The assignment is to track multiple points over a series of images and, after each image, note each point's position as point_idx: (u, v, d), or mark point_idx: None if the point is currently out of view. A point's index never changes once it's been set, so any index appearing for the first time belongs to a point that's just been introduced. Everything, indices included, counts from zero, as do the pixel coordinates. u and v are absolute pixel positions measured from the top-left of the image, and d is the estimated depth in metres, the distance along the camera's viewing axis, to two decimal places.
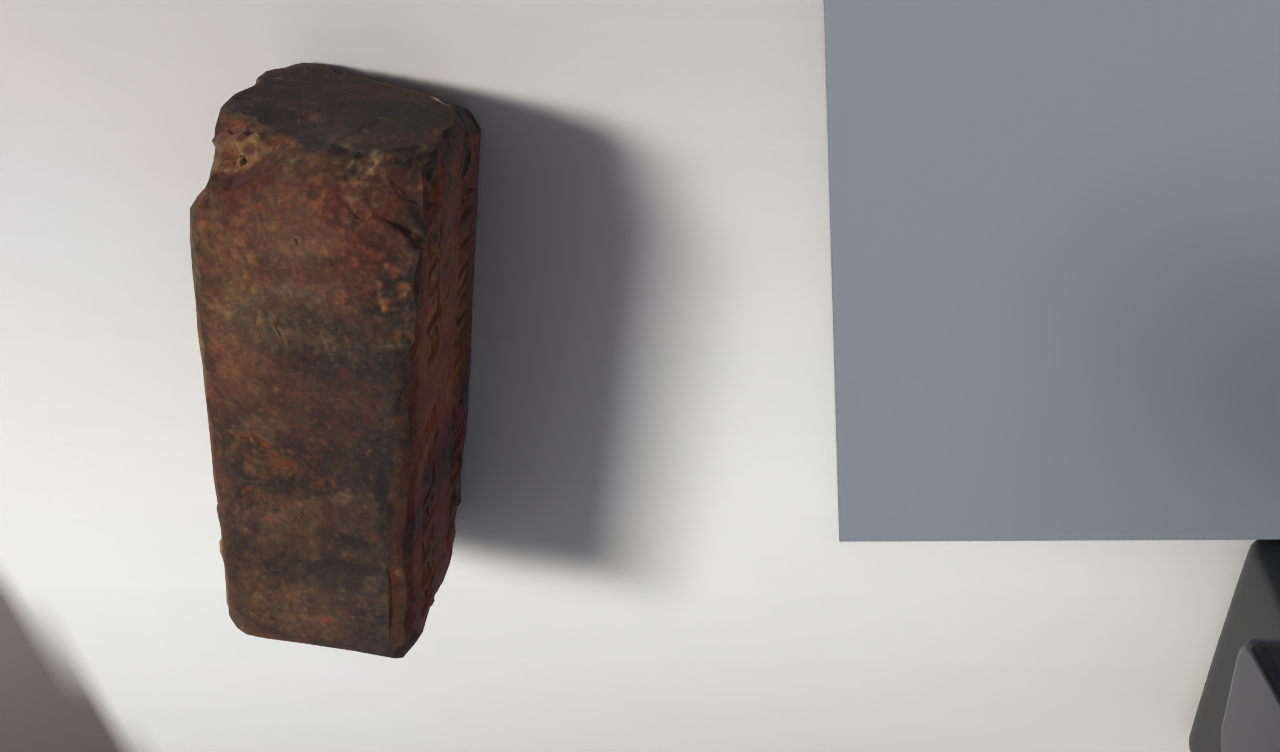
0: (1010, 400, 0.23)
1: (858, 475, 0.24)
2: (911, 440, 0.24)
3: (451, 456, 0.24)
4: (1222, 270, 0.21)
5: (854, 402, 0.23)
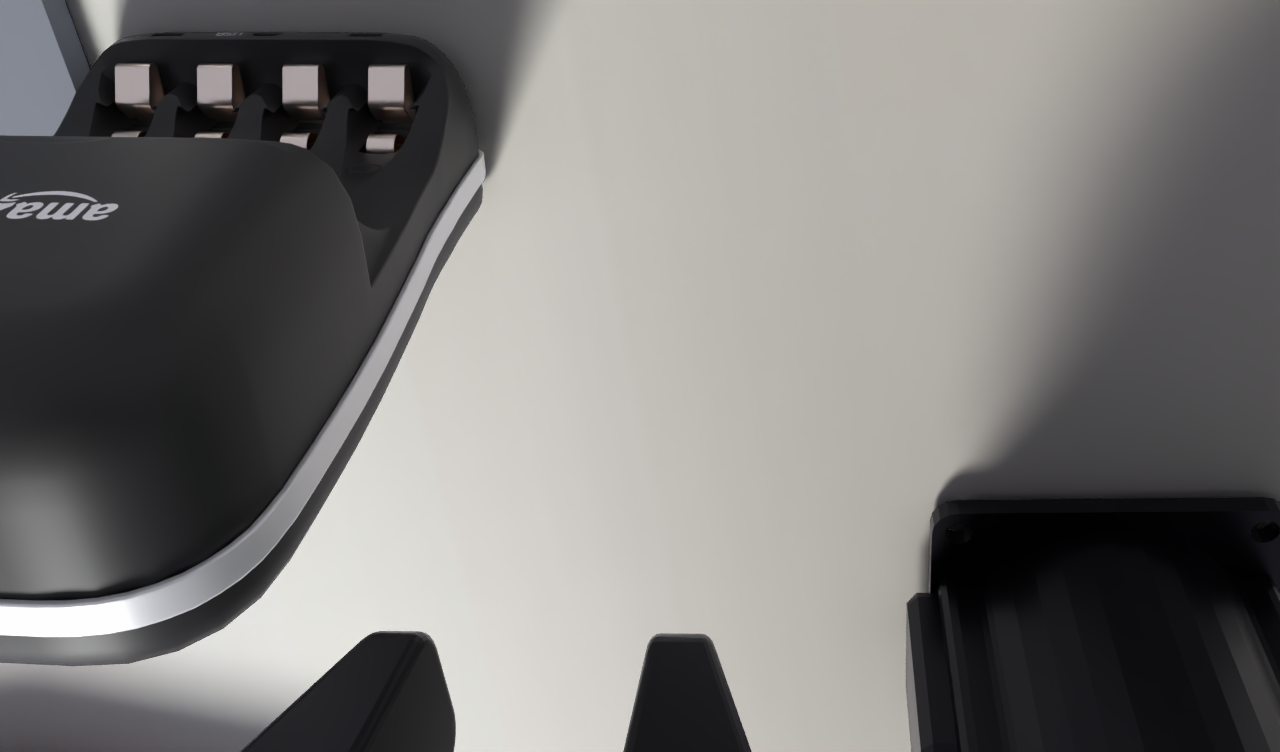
0: None
1: None
2: None
3: None
4: None
5: None
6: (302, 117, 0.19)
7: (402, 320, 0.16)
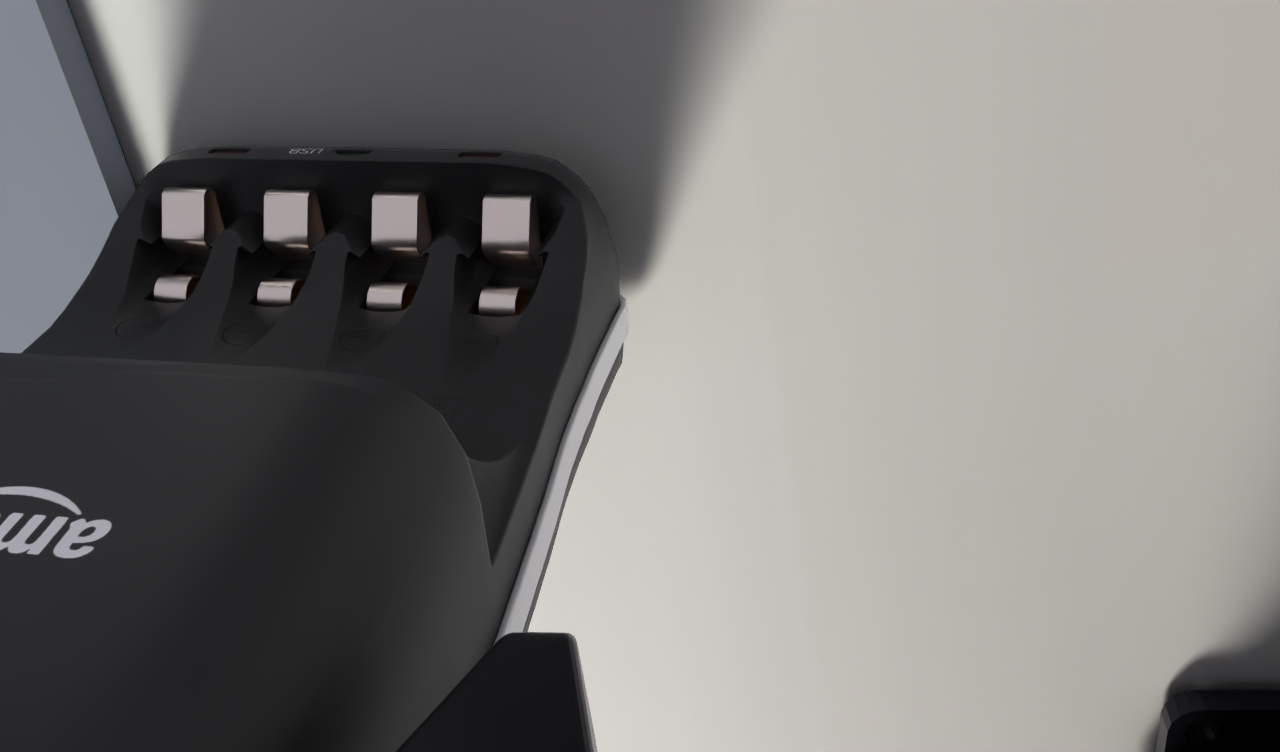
0: None
1: None
2: None
3: None
4: None
5: None
6: (396, 259, 0.15)
7: (531, 587, 0.11)
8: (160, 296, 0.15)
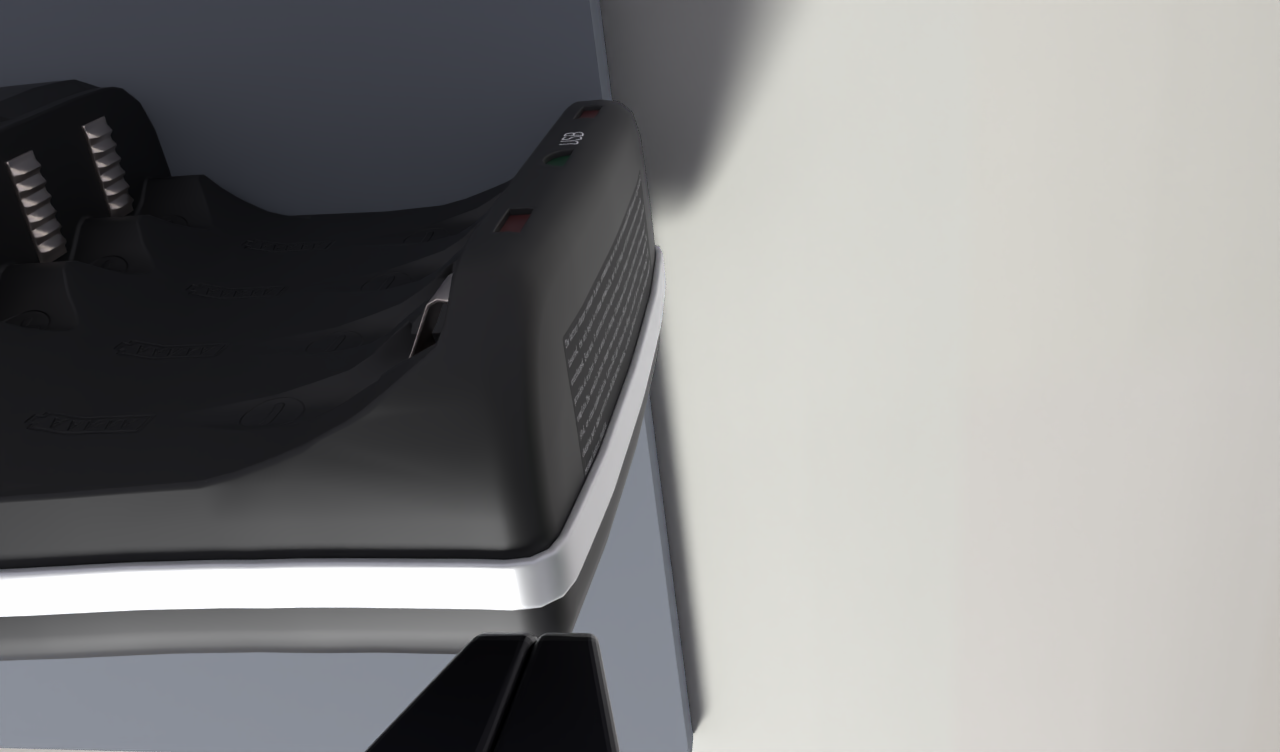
0: None
1: None
2: None
3: None
4: None
5: None
6: None
7: None
8: None
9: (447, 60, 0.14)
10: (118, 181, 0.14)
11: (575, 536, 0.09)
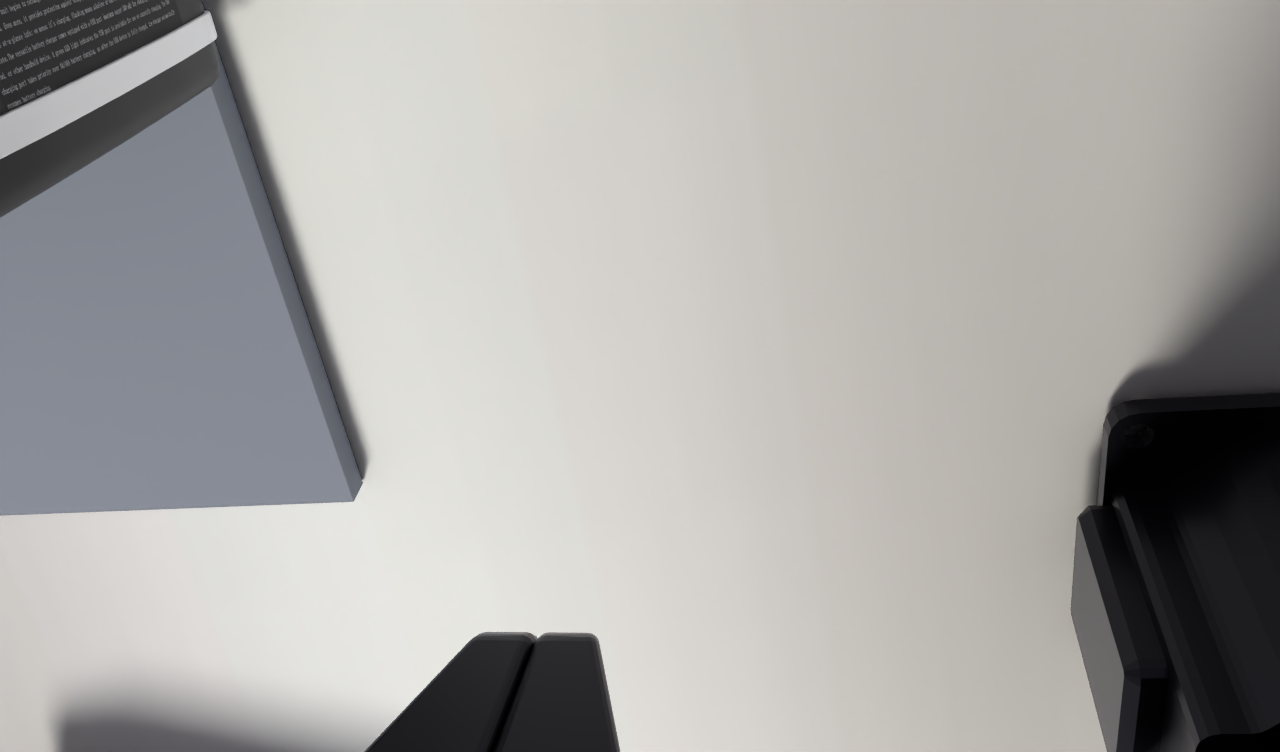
0: (130, 370, 0.22)
1: (264, 488, 0.24)
2: (207, 447, 0.23)
3: None
4: None
5: (182, 493, 0.24)
6: None
7: None
8: None
9: None
10: None
11: None
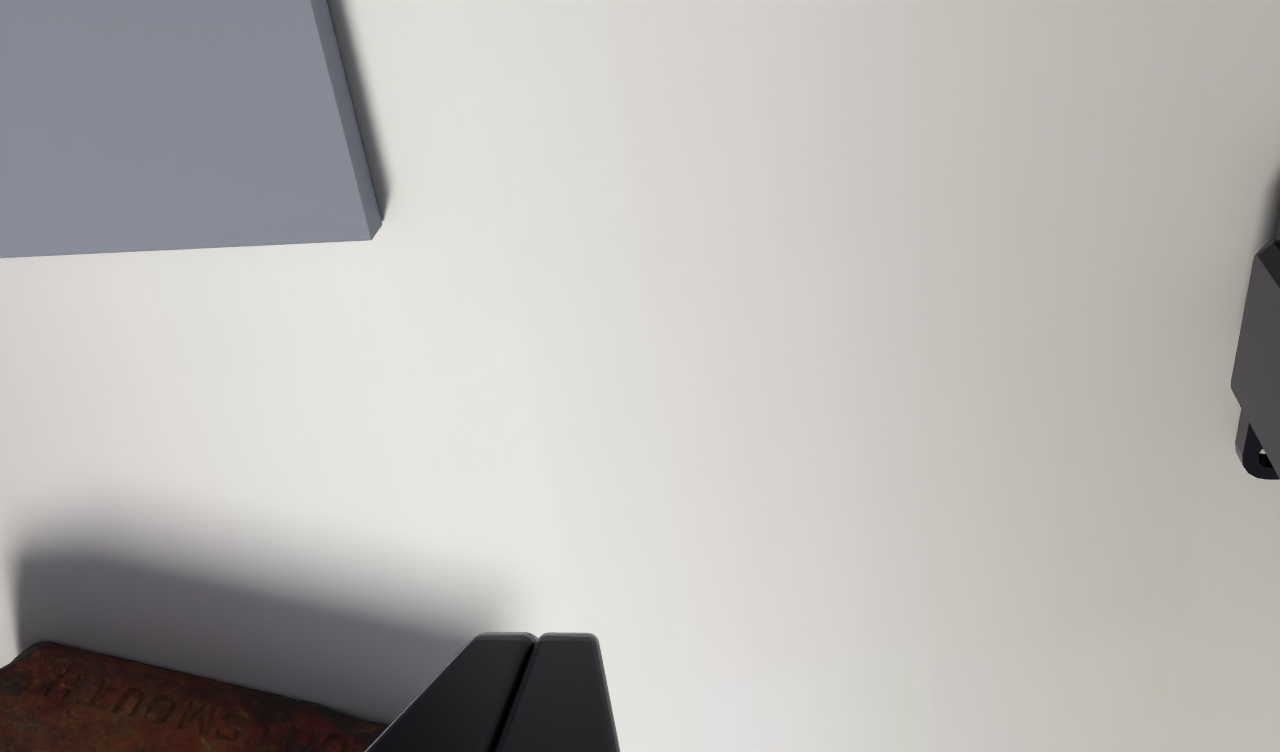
0: (106, 56, 0.18)
1: (264, 221, 0.20)
2: (197, 165, 0.19)
3: None
4: None
5: (165, 229, 0.20)
6: None
7: None
8: None
9: None
10: None
11: None
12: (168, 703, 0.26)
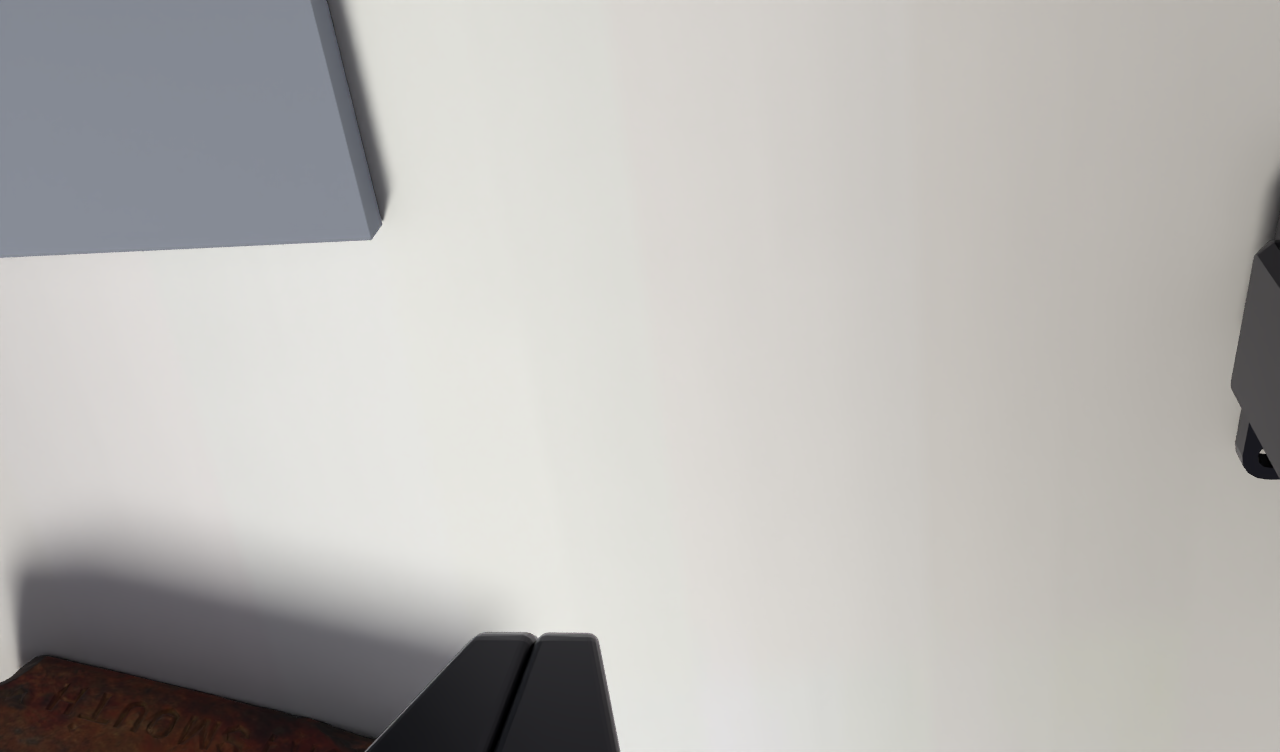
0: (106, 56, 0.18)
1: (264, 221, 0.20)
2: (197, 165, 0.19)
3: None
4: None
5: (165, 229, 0.20)
6: None
7: None
8: None
9: None
10: None
11: None
12: (169, 718, 0.27)
